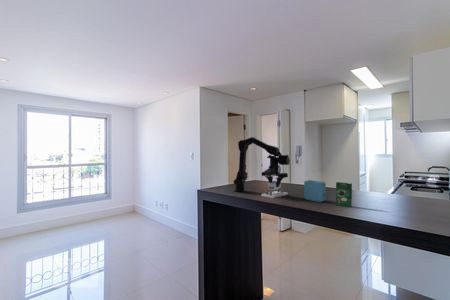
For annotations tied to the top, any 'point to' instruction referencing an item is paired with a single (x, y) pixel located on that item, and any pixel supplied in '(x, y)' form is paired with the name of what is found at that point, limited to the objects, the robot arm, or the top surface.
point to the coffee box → (344, 194)
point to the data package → (315, 190)
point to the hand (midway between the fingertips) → (274, 186)
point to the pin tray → (274, 194)
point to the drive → (273, 185)
